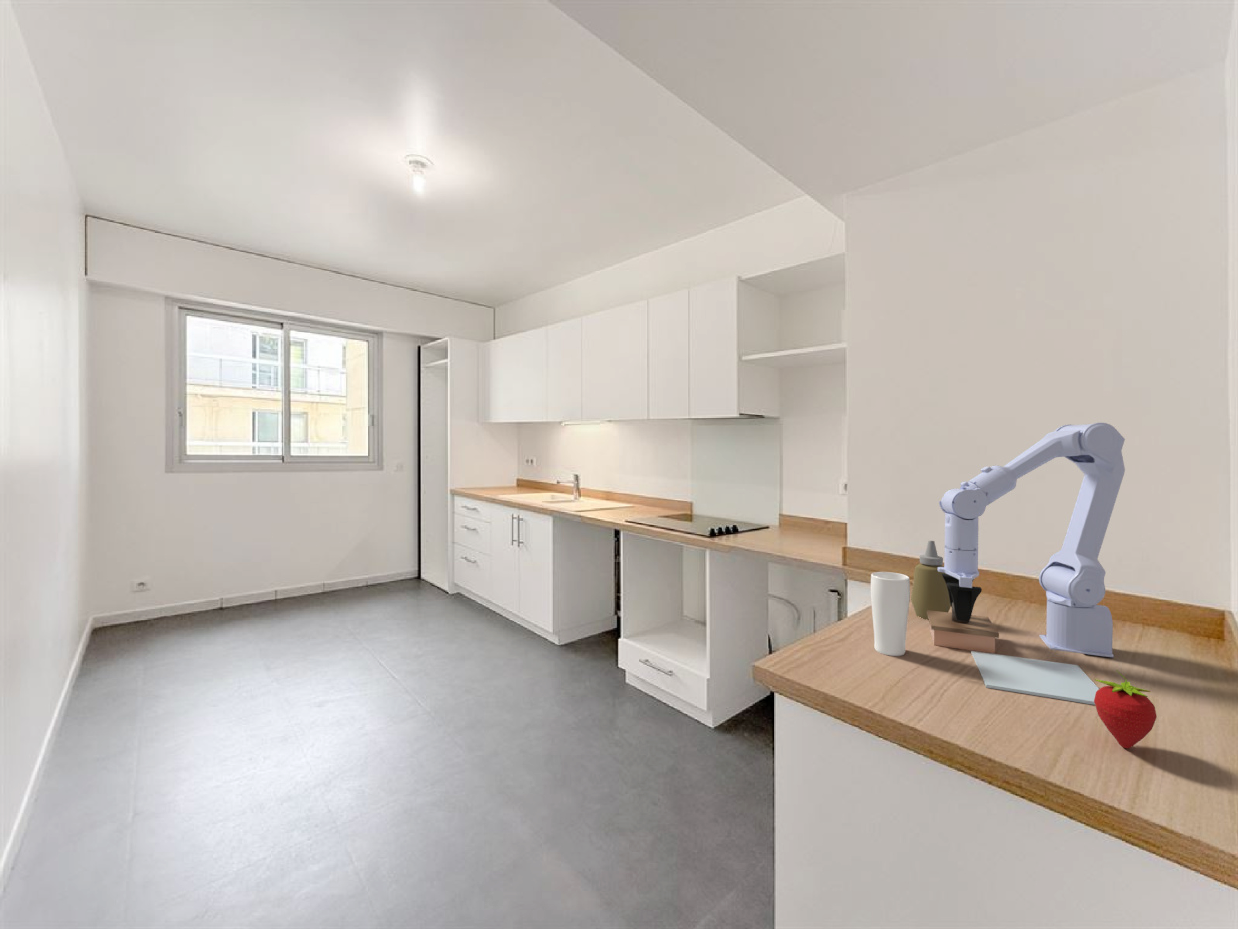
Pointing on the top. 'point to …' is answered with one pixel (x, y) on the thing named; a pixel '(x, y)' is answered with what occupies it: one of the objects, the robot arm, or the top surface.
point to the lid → (961, 624)
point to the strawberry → (1125, 711)
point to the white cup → (890, 611)
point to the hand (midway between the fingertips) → (960, 614)
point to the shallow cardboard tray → (963, 641)
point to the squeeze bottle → (929, 584)
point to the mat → (1035, 677)
